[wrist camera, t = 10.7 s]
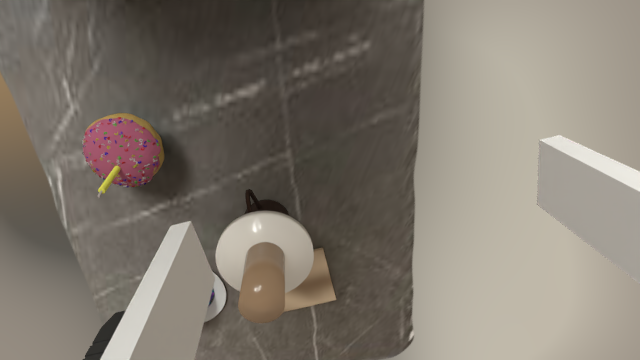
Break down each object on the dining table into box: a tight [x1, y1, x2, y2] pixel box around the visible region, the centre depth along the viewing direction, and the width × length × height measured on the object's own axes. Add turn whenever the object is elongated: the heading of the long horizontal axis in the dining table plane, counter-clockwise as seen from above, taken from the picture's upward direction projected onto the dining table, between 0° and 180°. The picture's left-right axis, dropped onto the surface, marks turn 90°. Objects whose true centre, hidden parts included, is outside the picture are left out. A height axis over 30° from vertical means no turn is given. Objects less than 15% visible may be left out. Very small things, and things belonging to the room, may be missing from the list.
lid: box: [216, 211, 314, 323], centre depth 40 cm, size 11×11×9 cm
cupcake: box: [82, 113, 164, 198], centre depth 42 cm, size 9×8×12 cm
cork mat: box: [283, 247, 336, 312], centre depth 58 cm, size 10×10×1 cm
